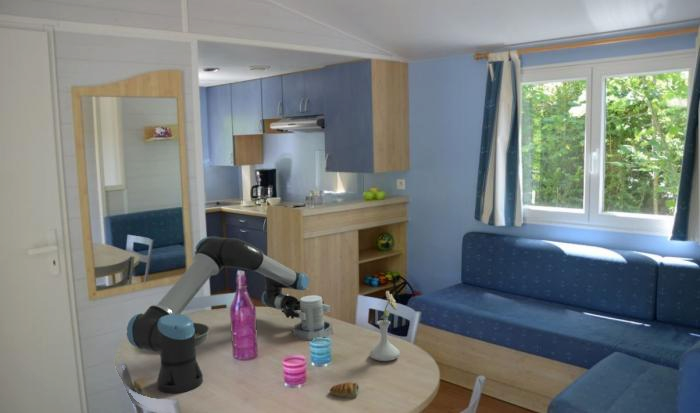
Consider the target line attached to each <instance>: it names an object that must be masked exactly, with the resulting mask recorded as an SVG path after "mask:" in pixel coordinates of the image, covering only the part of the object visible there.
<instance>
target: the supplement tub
mask: <svg viewBox="0 0 700 413" xmlns="http://www.w3.org/2000/svg"><path fill="white" fill-rule="evenodd" d="M299 301H300V310H299V311H300V312H303V313H305V317H306V320H302V319H300V320H301V321H300V322H301V324H302V331H306V332H315V331H321V330H324V321H325V320H324V311H323V303H322V301H323V298H322V296H320V295H316V294H315V295H306V296H302V297H301V298H300V299H299Z"/></svg>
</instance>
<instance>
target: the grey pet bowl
mask: <svg viewBox="0 0 700 413" xmlns="http://www.w3.org/2000/svg"><path fill="white" fill-rule="evenodd" d="M333 330H334V329H333V323H332V322H330V321H328V320H324V330H321V331H315V332H306V331H302V324H301V321H300V322H297V323H296V324H294V326H293V335H294V336H293V337H295V338H297V339H299V340H300V339H301V340H305V339H306V340H309V341H310V339H313V338H317V337H326V338H328V337H330V336H331V335H333V334H332V333H334V332H333ZM330 334H331V335H330ZM329 335H330V336H329Z"/></svg>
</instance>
